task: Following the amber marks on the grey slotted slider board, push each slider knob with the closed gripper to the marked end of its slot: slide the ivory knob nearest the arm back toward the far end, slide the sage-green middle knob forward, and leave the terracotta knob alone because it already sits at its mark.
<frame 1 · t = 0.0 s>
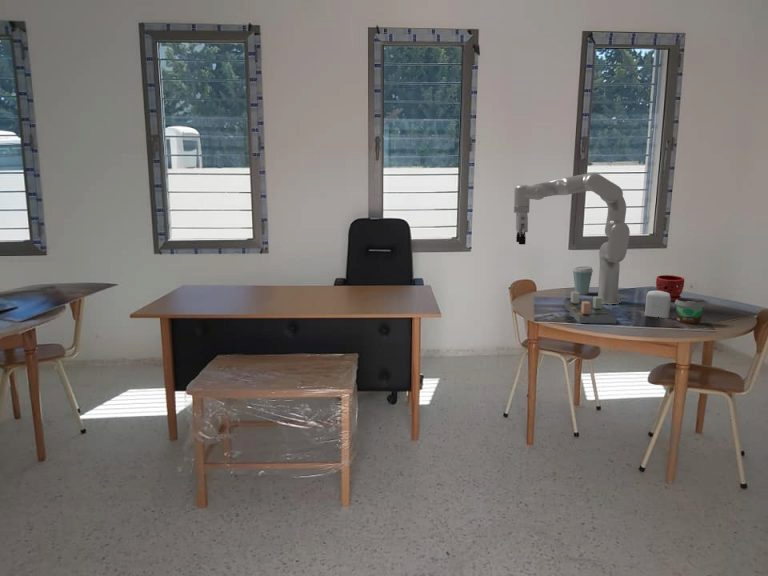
hand: (520, 243, 294), 31 cm above the table, tool pointing down, fingers open, 9 cm apart
slider terracotta: (585, 307, 261), point 6 cm above the table, slide at 8.0 cm
disposable coffee cup: (581, 293, 318), on the table
food container: (689, 323, 254), on the table
plant pot: (668, 300, 300), on the table
photo printer: (656, 317, 266), on the table
slider ivory: (574, 297, 282), point 6 cm above the table, slide at 8.0 cm
grey slotted slider board: (588, 314, 272), on the table
slider sage: (597, 302, 271), point 6 cm above the table, slide at 0.0 cm
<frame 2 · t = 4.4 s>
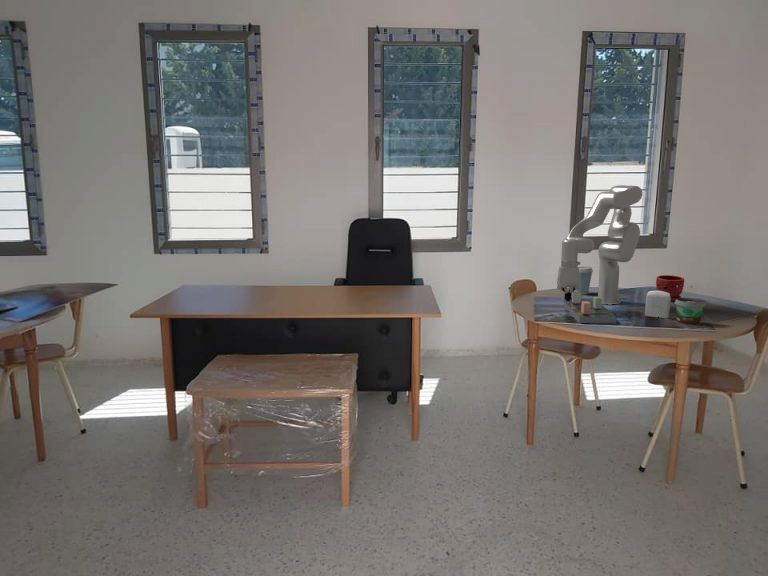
hand: (567, 300, 283), 4 cm above the table, tool pointing down, fingers closed
slider ivory: (576, 297, 282), point 6 cm above the table, slide at 7.2 cm, touching gripper
everything else where it was.
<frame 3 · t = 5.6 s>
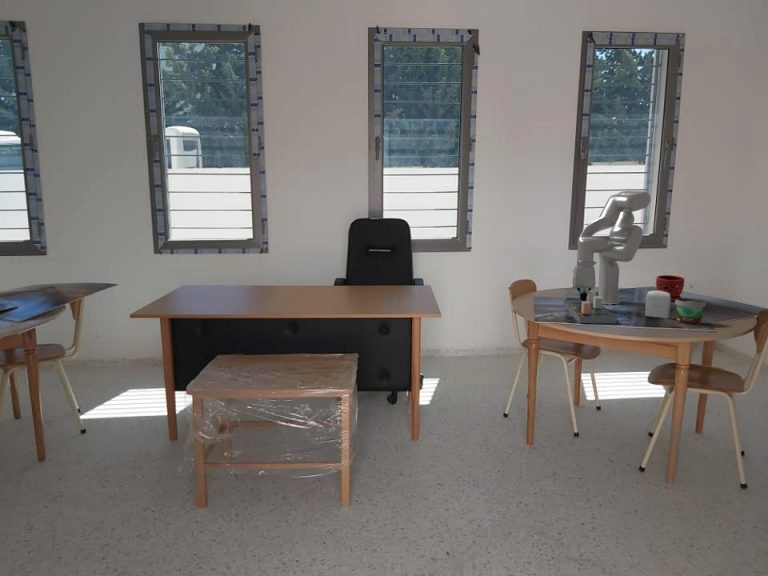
hand: (583, 300, 282), 4 cm above the table, tool pointing down, fingers closed
slider ivory: (591, 297, 282), point 6 cm above the table, slide at -0.2 cm, touching gripper
everything else where it was.
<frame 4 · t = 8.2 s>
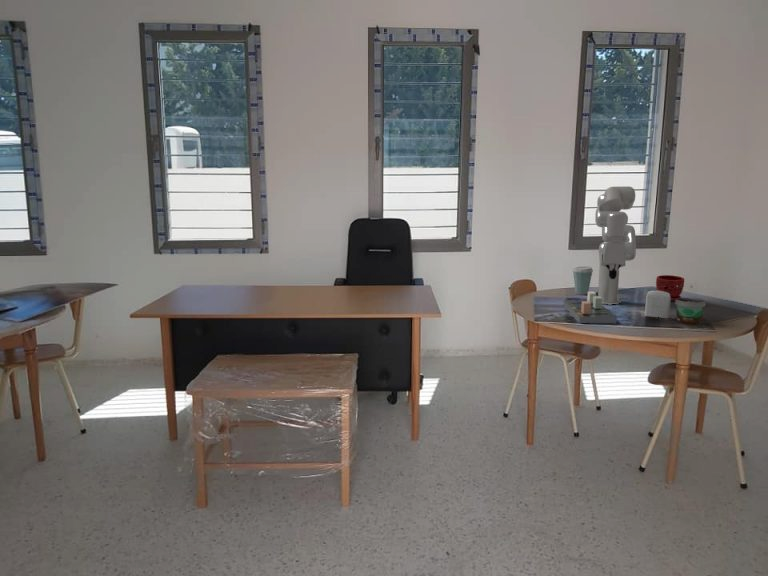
hand: (612, 278, 268), 17 cm above the table, tool pointing down, fingers closed
slider ivory: (591, 297, 282), point 6 cm above the table, slide at 0.0 cm
everything else where it was.
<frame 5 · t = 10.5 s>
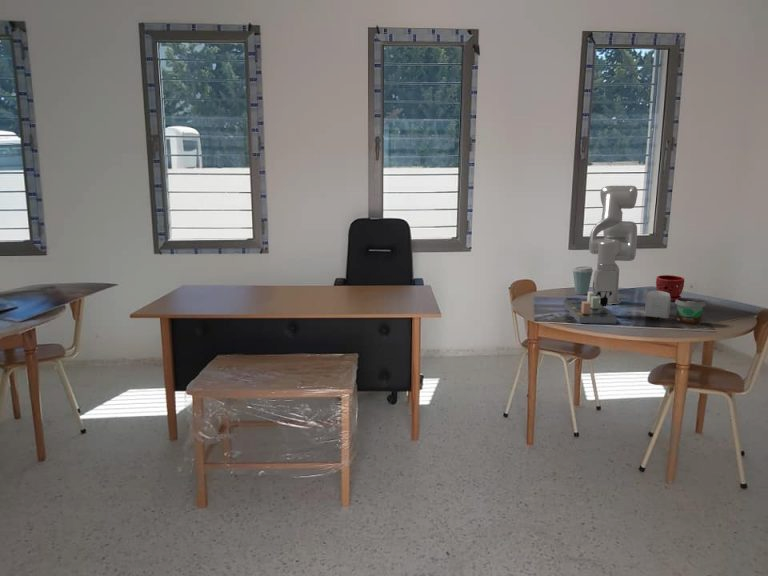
hand: (603, 305, 271), 4 cm above the table, tool pointing down, fingers closed
slider sage: (594, 302, 271), point 6 cm above the table, slide at 1.3 cm, touching gripper
everything else where it was.
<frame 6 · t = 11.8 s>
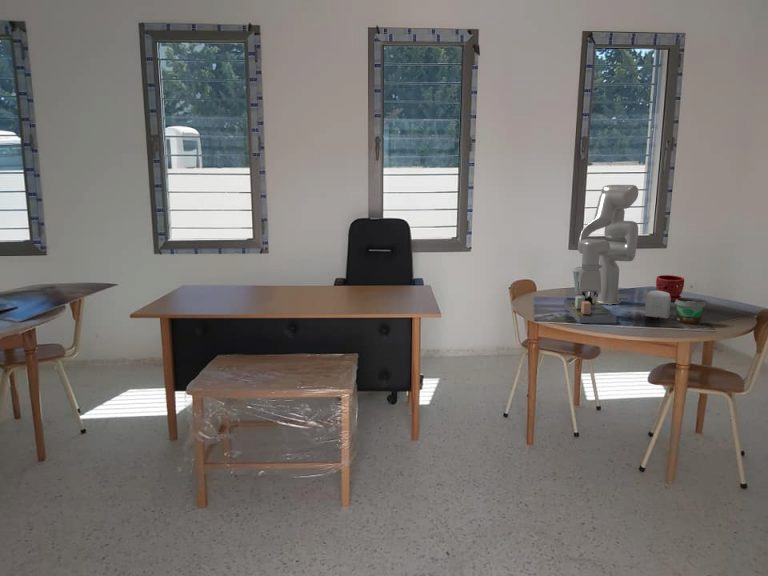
hand: (588, 305, 271), 4 cm above the table, tool pointing down, fingers closed
slider sage: (579, 302, 272), point 6 cm above the table, slide at 8.3 cm, touching gripper
everything else where it was.
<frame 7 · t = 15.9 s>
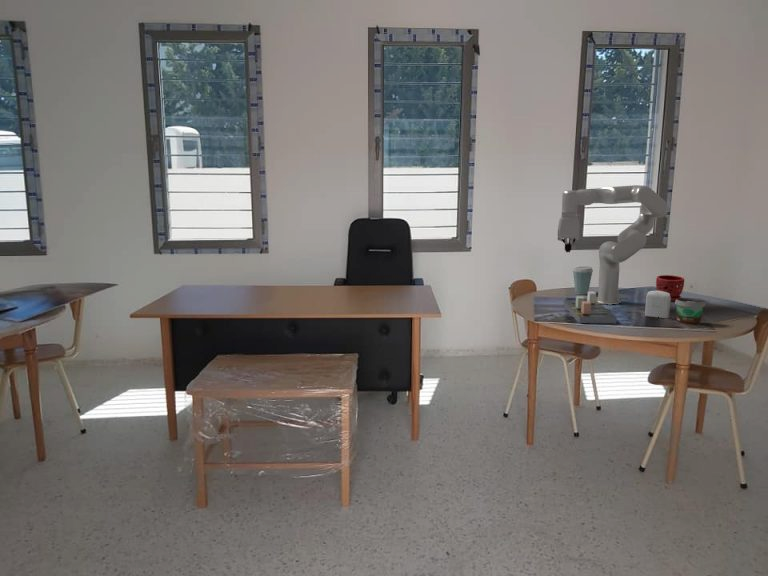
hand: (567, 251, 289), 27 cm above the table, tool pointing down, fingers closed
slider sage: (580, 302, 272), point 6 cm above the table, slide at 8.0 cm
everything else where it was.
at the end: slider ivory slide at 0.0 cm; slider sage slide at 8.0 cm; slider terracotta slide at 8.0 cm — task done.
